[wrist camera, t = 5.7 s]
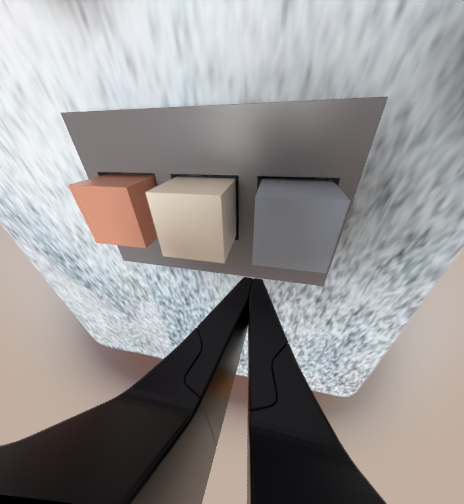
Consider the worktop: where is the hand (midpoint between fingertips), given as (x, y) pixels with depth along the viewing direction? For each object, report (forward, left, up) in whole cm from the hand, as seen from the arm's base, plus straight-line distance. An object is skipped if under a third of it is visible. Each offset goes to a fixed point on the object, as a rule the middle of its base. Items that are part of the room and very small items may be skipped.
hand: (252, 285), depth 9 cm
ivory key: (+5, 0, -9) cm, 10 cm away
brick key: (+12, 0, -9) cm, 15 cm away
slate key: (-2, 0, -9) cm, 9 cm away
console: (+5, 0, -11) cm, 12 cm away
